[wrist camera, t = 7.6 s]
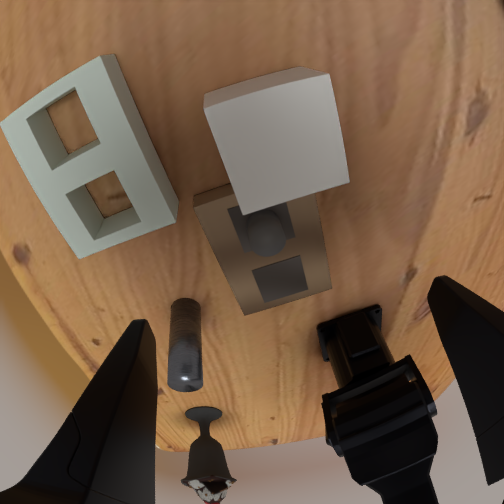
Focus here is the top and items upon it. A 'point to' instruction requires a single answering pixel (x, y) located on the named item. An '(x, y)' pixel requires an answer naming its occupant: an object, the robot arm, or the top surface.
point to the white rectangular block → (278, 136)
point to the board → (247, 261)
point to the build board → (93, 160)
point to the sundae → (207, 460)
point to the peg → (185, 346)
